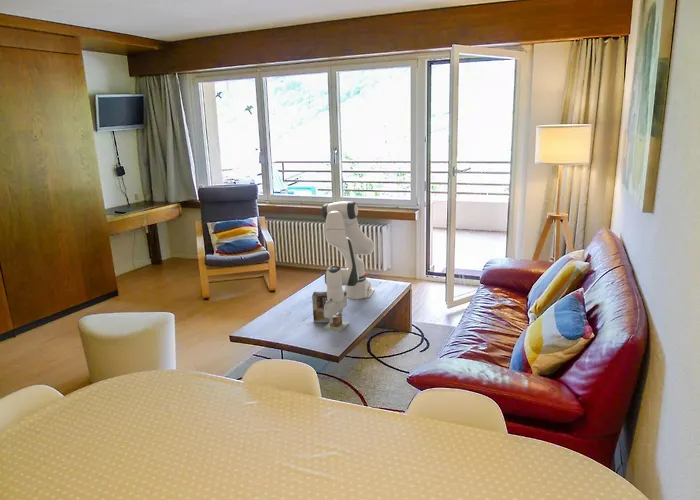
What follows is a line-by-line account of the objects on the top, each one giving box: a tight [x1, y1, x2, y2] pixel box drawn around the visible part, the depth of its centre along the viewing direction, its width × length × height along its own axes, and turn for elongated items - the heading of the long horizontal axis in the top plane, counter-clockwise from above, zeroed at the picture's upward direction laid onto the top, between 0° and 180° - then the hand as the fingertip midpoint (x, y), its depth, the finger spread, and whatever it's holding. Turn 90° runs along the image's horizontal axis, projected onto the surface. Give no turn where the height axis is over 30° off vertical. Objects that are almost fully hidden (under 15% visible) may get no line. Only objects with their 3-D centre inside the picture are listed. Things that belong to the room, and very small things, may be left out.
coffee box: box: [311, 291, 330, 323], centre depth 284 cm, size 9×6×16 cm
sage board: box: [323, 321, 350, 333], centre depth 276 cm, size 11×10×1 cm
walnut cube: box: [329, 313, 343, 327], centre depth 276 cm, size 5×5×5 cm
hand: (335, 319), depth 276 cm, fingers open, 8 cm apart
